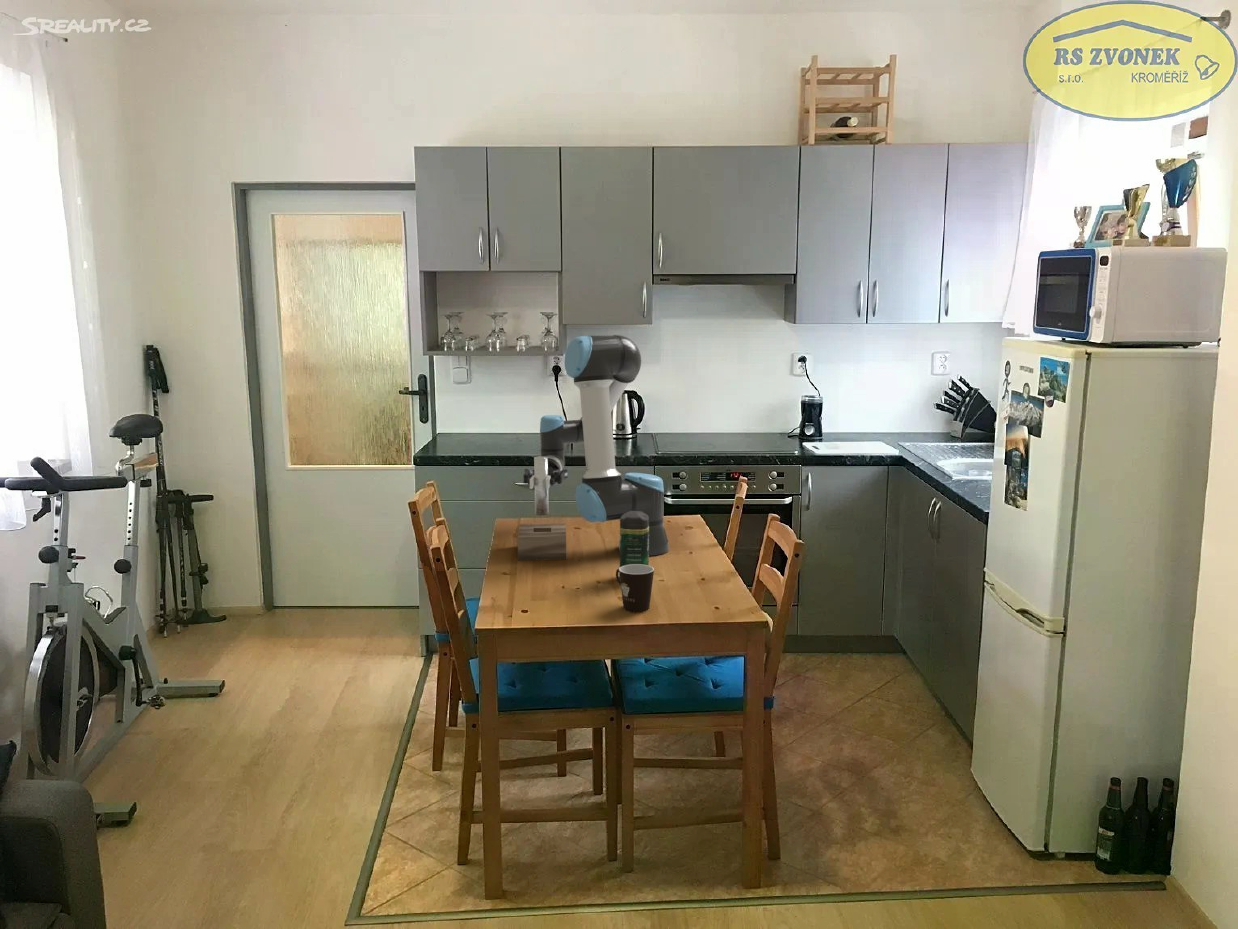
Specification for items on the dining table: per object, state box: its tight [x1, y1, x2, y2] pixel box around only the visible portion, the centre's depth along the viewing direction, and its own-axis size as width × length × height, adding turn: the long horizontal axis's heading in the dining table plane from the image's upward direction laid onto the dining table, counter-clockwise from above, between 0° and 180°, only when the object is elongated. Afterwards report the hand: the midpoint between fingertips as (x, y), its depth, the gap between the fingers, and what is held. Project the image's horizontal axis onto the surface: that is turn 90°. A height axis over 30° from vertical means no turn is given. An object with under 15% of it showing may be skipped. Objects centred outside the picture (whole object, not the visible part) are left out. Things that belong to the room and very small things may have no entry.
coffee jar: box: [619, 511, 650, 568], centre depth 261 cm, size 10×8×19 cm
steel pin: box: [533, 455, 550, 516], centre depth 286 cm, size 4×4×17 cm
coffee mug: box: [615, 564, 655, 613], centre depth 239 cm, size 12×9×10 cm
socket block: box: [517, 522, 567, 561], centre depth 289 cm, size 16×14×7 cm
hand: (539, 484), depth 280 cm, fingers closed on steel pin, 4 cm apart
